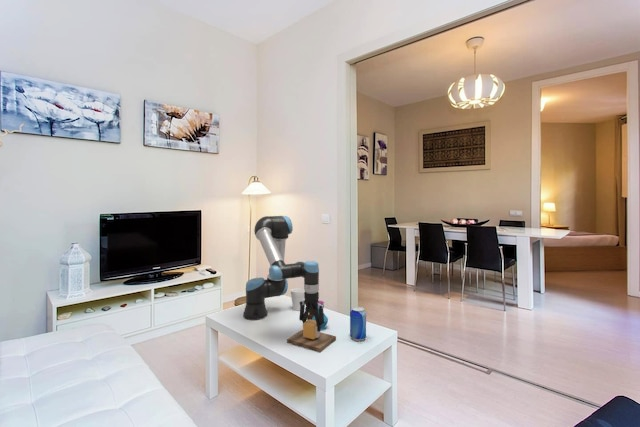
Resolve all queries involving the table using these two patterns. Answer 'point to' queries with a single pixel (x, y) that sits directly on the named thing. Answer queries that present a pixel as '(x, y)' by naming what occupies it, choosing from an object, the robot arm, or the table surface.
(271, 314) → the table surface
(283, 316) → the table surface
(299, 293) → the foam cup
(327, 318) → the perfume bottle
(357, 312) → the beer can
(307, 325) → the wooden toy cube
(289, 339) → the post board
